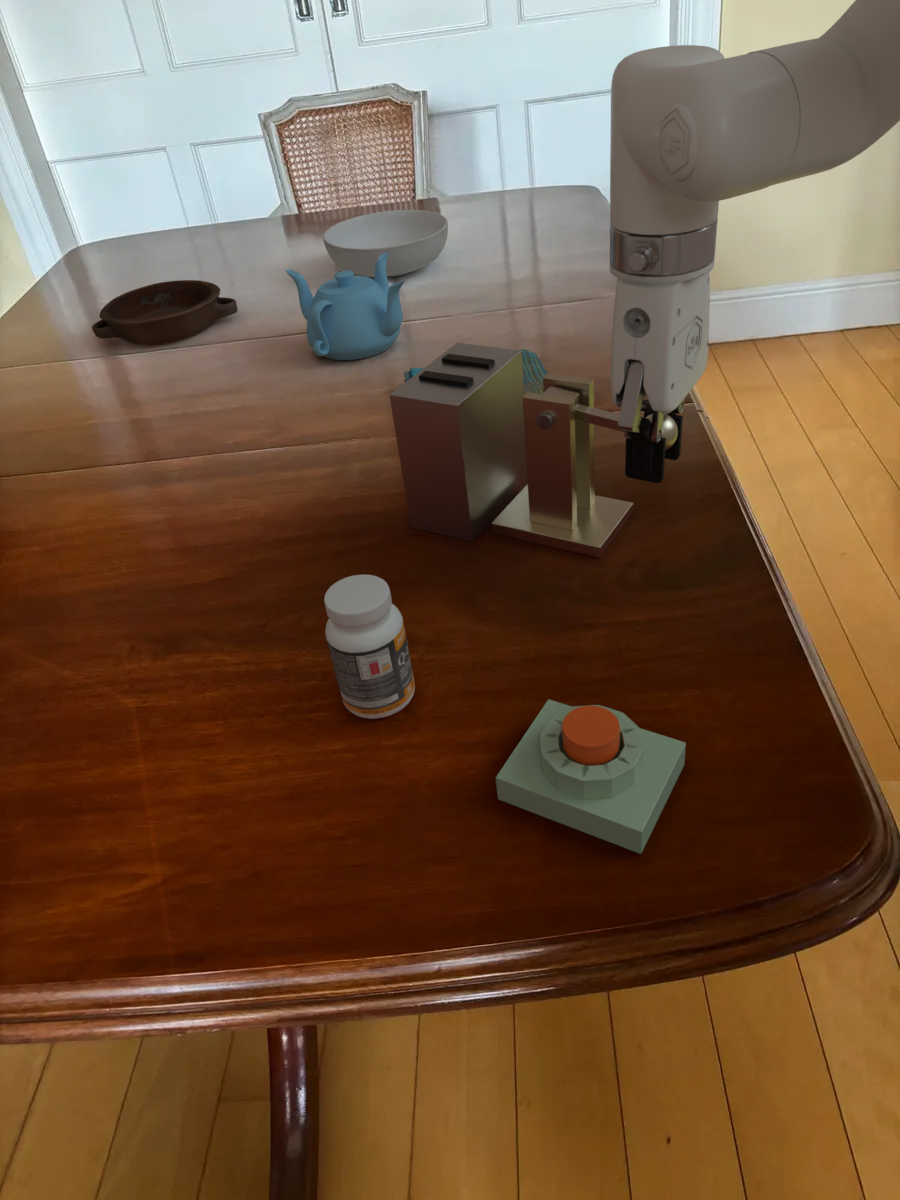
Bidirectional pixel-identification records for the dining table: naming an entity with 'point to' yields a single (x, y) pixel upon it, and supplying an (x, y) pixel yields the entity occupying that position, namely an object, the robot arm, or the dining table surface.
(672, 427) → the lever
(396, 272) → the serving bowl
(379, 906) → the dining table surface
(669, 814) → the dining table surface
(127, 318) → the dish
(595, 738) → the timer button
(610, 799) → the timer block
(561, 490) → the bracket
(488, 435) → the toaster
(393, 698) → the pill bottle
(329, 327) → the teapot
